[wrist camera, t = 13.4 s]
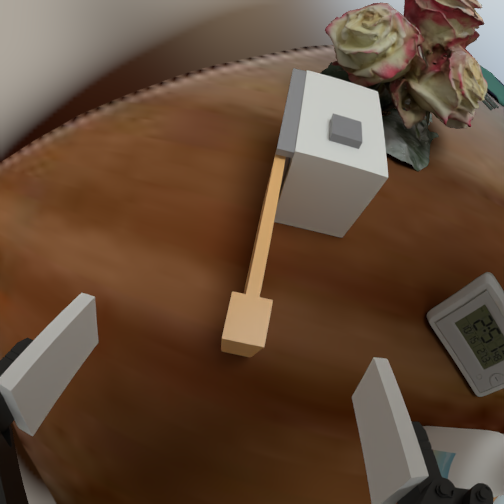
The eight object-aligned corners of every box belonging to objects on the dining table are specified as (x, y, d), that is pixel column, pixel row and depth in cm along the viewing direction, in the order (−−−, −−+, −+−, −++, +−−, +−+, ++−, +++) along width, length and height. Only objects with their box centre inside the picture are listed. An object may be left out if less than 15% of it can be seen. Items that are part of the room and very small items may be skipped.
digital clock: (417, 311, 36) (471, 286, 26) (456, 283, 38) (506, 254, 28) (461, 413, 31) (518, 410, 21) (496, 375, 33) (549, 364, 23)
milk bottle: (406, 419, 30) (540, 422, 12) (448, 431, 30) (572, 430, 11) (381, 477, 27) (503, 521, 9) (426, 484, 26) (544, 513, 8)
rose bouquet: (288, 101, 48) (329, -65, 21) (370, 62, 58) (413, -44, 31) (411, 202, 43) (532, 51, 15) (461, 133, 52) (531, 34, 25)
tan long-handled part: (250, 357, 30) (264, 347, 21) (220, 351, 30) (221, 338, 21) (278, 208, 38) (297, 154, 28) (254, 203, 37) (265, 147, 28)
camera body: (342, 237, 39) (392, 171, 26) (259, 218, 38) (279, 139, 26) (345, 151, 45) (380, 81, 32) (277, 133, 44) (296, 56, 32)
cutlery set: (518, 106, 68) (521, 102, 66) (493, 117, 60) (497, 112, 58) (479, 67, 74) (482, 63, 72) (445, 69, 66) (448, 64, 64)
